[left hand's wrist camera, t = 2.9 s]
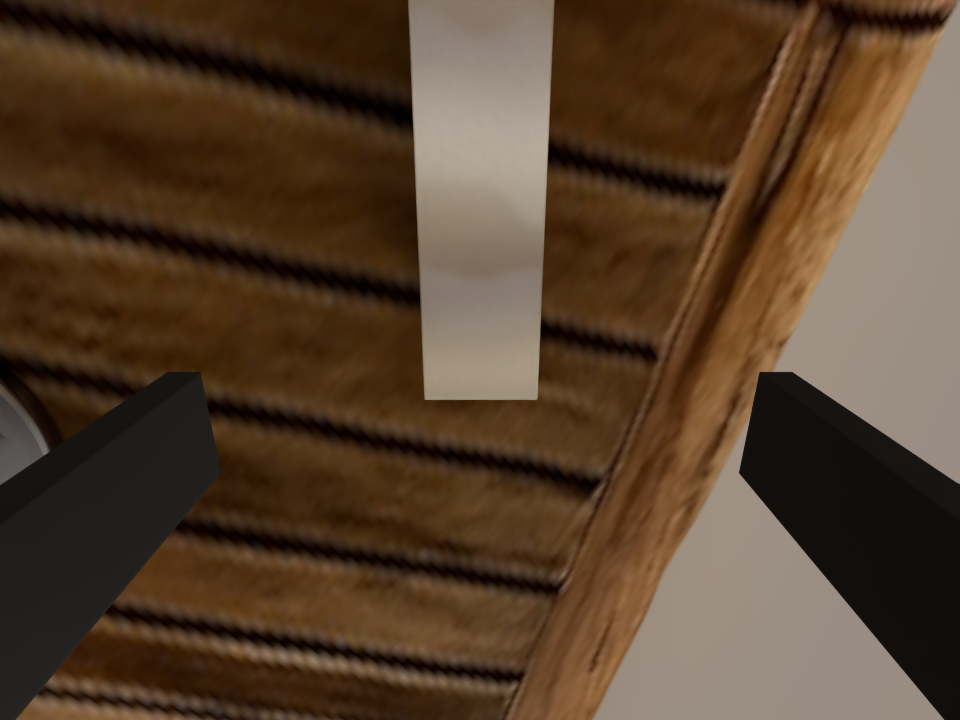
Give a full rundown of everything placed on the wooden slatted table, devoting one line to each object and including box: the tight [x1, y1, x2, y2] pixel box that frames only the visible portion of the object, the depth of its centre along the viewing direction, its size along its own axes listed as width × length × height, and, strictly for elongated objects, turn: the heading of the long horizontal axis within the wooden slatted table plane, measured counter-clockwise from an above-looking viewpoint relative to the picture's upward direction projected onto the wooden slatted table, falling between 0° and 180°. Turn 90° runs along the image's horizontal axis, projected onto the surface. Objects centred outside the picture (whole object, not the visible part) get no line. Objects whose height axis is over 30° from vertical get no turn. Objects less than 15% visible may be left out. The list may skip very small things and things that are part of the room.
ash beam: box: [408, 0, 554, 400], centre depth 20 cm, size 26×4×8 cm, turn 0°
